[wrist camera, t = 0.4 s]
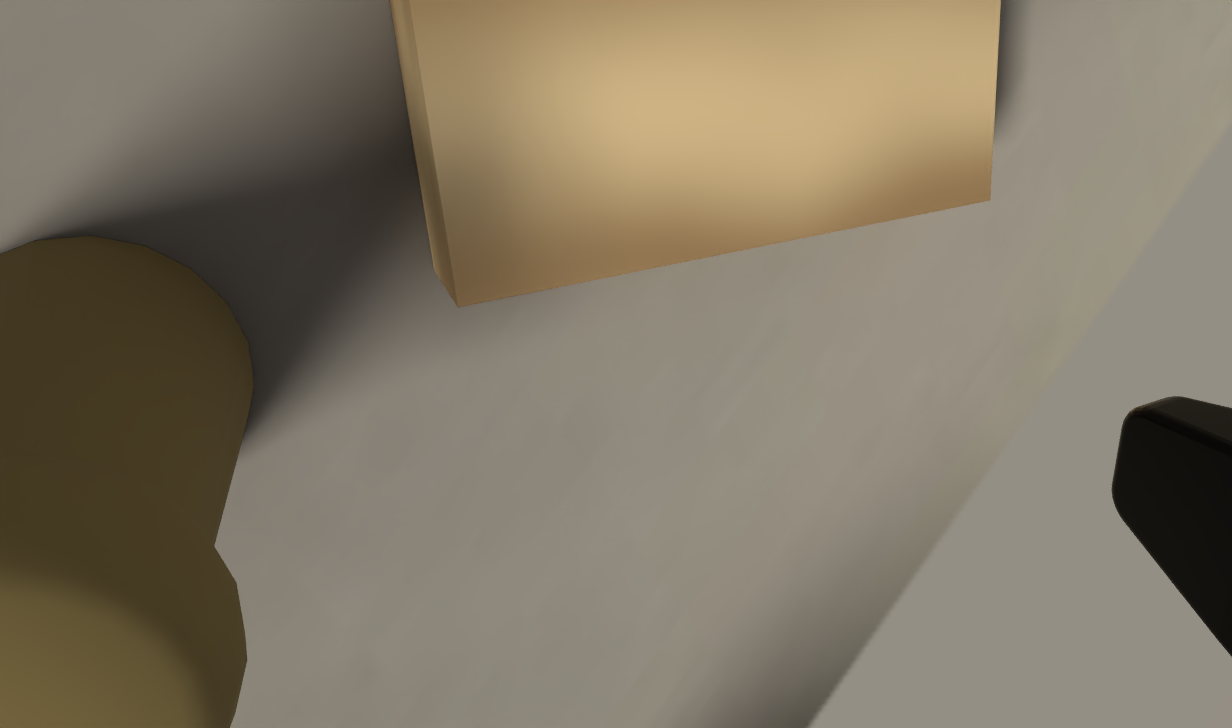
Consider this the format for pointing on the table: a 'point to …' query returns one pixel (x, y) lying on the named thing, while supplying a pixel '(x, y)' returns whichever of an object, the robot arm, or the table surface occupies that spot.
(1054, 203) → the table surface
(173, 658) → the cork
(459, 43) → the oak board
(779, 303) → the table surface
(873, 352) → the table surface
